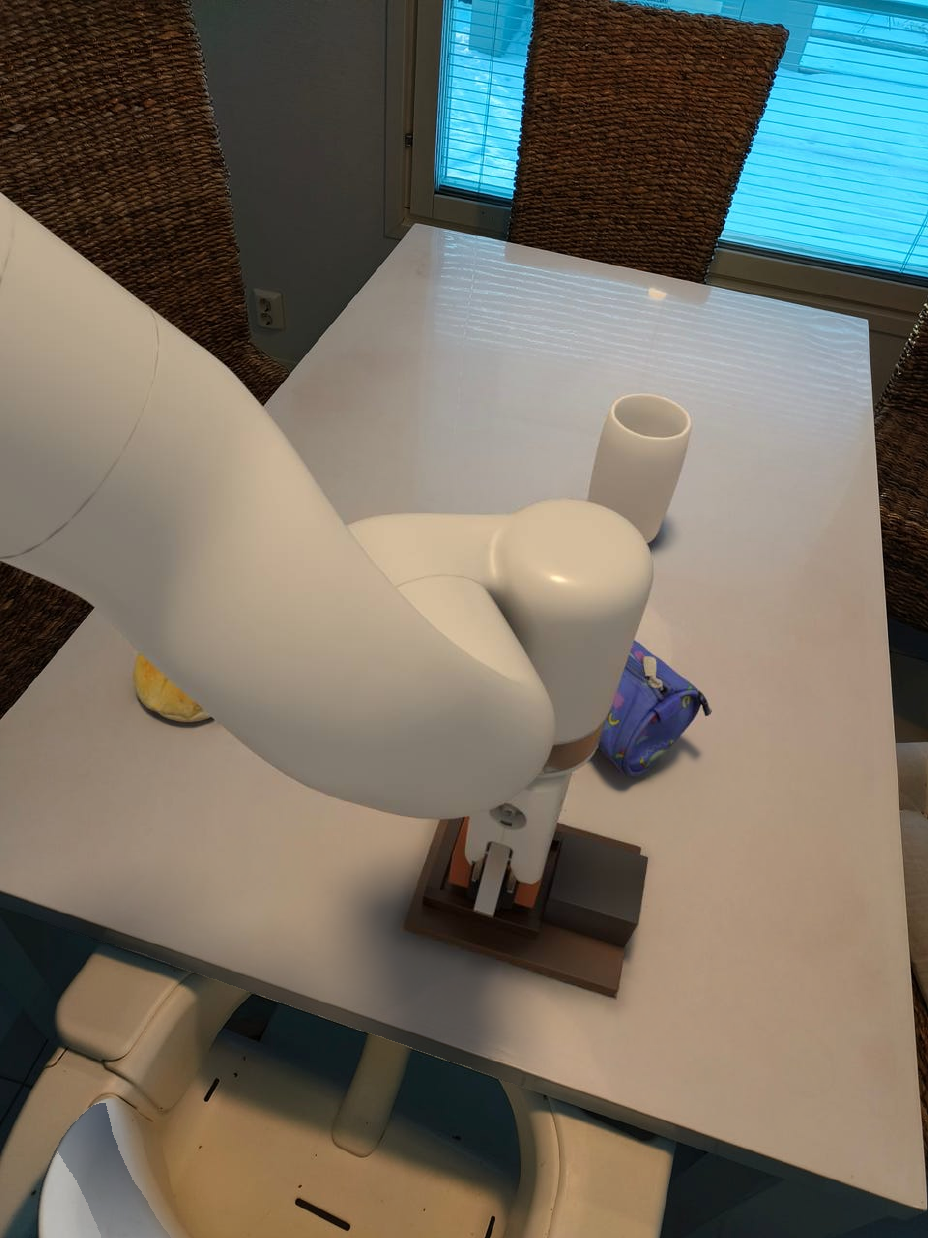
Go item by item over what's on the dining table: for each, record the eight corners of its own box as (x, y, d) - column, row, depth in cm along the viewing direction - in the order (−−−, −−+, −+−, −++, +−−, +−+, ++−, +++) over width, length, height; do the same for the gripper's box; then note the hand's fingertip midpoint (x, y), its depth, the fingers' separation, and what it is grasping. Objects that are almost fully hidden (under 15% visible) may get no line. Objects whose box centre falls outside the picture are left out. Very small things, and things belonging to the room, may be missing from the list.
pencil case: (695, 751, 71) (729, 680, 64) (622, 803, 67) (651, 733, 60) (526, 594, 82) (540, 518, 75) (455, 630, 78) (463, 554, 72)
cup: (590, 495, 94) (617, 382, 83) (665, 517, 92) (702, 404, 82) (570, 543, 88) (596, 427, 78) (650, 566, 86) (687, 452, 76)
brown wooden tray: (614, 997, 57) (631, 968, 53) (403, 930, 59) (404, 897, 55) (637, 854, 64) (654, 819, 61) (449, 798, 66) (453, 761, 63)
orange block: (532, 908, 58) (541, 882, 55) (448, 882, 59) (452, 855, 56) (548, 845, 61) (557, 817, 58) (468, 821, 62) (473, 792, 59)
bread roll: (184, 631, 76) (176, 600, 73) (261, 676, 73) (256, 646, 70) (112, 690, 71) (101, 660, 68) (192, 742, 68) (184, 712, 65)
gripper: (574, 864, 40) (523, 999, 53) (628, 616, 52) (575, 778, 65) (423, 818, 41) (410, 962, 54) (509, 585, 53) (481, 751, 66)
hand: (500, 860), depth 60 cm, fingers closed on orange block, 5 cm apart
